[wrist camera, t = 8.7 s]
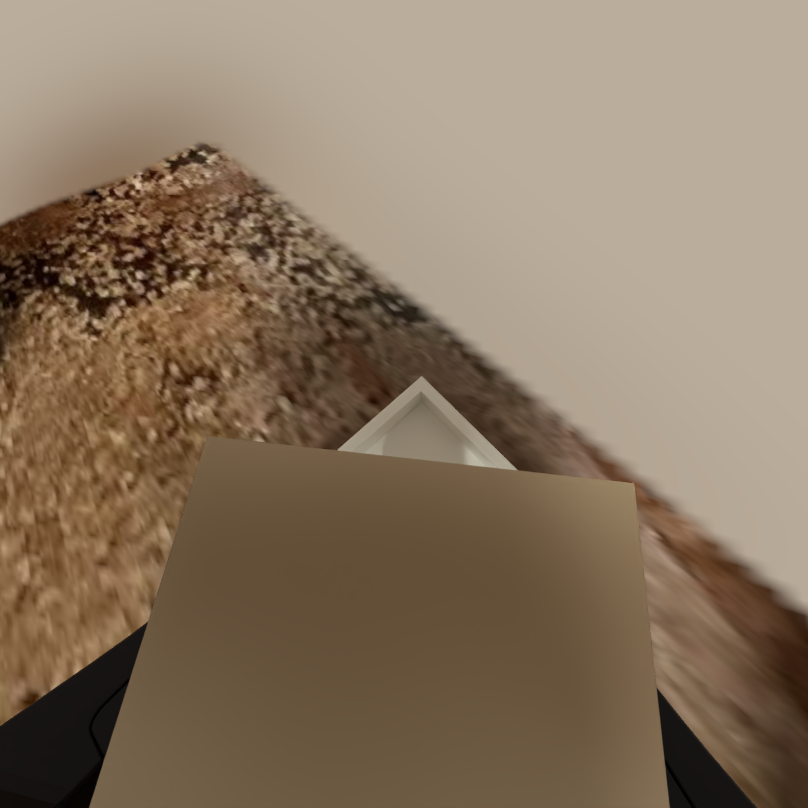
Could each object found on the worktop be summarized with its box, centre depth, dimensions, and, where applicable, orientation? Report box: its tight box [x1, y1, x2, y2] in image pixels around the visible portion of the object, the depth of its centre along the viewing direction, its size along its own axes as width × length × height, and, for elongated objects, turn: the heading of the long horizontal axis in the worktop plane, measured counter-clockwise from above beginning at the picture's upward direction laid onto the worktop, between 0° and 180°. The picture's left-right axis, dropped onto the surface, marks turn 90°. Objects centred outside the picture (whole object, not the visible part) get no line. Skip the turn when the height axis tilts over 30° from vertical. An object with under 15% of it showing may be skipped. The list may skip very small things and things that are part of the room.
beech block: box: [89, 436, 670, 808], centre depth 8 cm, size 5×5×12 cm
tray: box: [338, 376, 517, 470], centre depth 14 cm, size 11×11×2 cm
